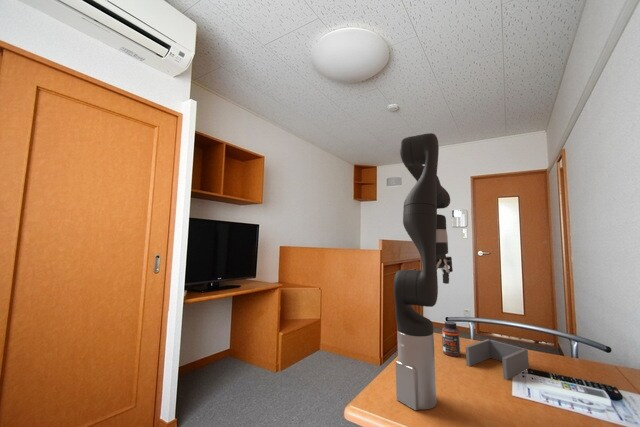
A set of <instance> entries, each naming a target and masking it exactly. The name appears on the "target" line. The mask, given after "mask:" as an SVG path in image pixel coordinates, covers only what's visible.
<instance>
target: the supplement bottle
mask: <svg viewBox="0 0 640 427" xmlns="http://www.w3.org/2000/svg"><path fill="white" fill-rule="evenodd" d="M441 334H442V336H441V338H442V339H441V340H442V352H443V354H445V355H446V356H449V357H460V356H461V340H460V337H461V336H460V330H459V328H458V327H457V323H456V322H455V321H452V320H446V321H444V326H443V327H442V329H441Z"/></svg>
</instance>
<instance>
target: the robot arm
mask: <svg viewBox="0 0 640 427" xmlns="http://www.w3.org/2000/svg"><path fill="white" fill-rule="evenodd" d="M439 149H440V146H439V139H438V136H437V135H436V134H435V133H432V132H428V133H423V134H418V135H413V136H408V137H407V136H406V137H405V138H403V139H401V141H400V144H399V156H400V159H401V162H402V164H403V165H404V166H405V168H406V170H407V171H408V172H409V173H410V174H411V176H412V177H413V178H414V179H415V181H416V182H415V184H414V186H413V187H412V188H411V189H410V191H409V193H408V194H407V196H406V197H405V199H404V201H403V212H402V224H403V228H404V230H405V231H406V233H407V235H408V237H409V238H410V239H411V241H412V243H413V244H414V246H415V247H416V249H417V251H418V253H419V256H420V259H421V264H422V270H421V269H420V270H418V269H417V270H416V269H398V270H397V271H396V273H395V275H394V277H393V297H394V298H393V299H394V310H395V312H394V313H395V321H396V330H397V331H396V332H397V339H396V340H397V360H396V361H395V387H396V389H395V391H396V393H395V396H396V400H397V401H398V402H400V403H402V404H404V405H405V406H406V407H409V408H410V409H412V410H413V411H417V410H431V409H433V408H436V406H437V388H436V387H437V384H436V362H435V361H436V359H435V340H434V339H435V337H434V334H435V333H434V324H433V322H432V320H431V319H430V318H428V317H426V316H424V315H422V314H419V312H417V311H416V310H415V309H414V308H413V307H412V306H418V307H419V306H420V307H428V308H429V307H431V308H432V307H434V306H436V304H437V302H438V295H439V294H438V293H439V286H438V285H439V284H438V283H439V281H438V280H439V278H438V269H440V270H441V272H442V283H443V284H445V285H447V284H448V285H449V284H450V273H452V272H453V259H452V256H446V255H448V254H449V241H448V240H449V239H448V232H447V218H446V216H445V215H443V214H440V213H439V214H438V209H440V210H441V209H446V208H448V207H449V206H450V204H451V196H450V194H449V192H448V191H447V189H446V188H444V187H443V185H441V181H440V179H439V178H440V177H439V176H438V166H439Z"/></svg>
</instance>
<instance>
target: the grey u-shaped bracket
mask: <svg viewBox="0 0 640 427" xmlns="http://www.w3.org/2000/svg"><path fill="white" fill-rule="evenodd" d="M528 350H529V349H528V348H524V347H520V346H516V345H513V344H509V343H504V342H501V341H497V340H494V339H490V338H487V339H486V338H485V339H484V340H482V341H478V342H475V343H473V344H469V345H466V346H465V362H466V366H467V367H472V366H474V365H476V364H478V363H482V362H484V361H486V360H489V359H494V360H497V361H500V362H502V373H503V375H502V377H503V380H507V381H509V380H510V379H513V378H514V377H516V376H518V375H519V374H522V373H523V372H522V371H524V370H525V371H527V370H529V369H530V365H529V364H530V363H529V353H528V352H529V351H528ZM526 369H527V370H526ZM525 371H524V372H525ZM521 372H522V373H521Z"/></svg>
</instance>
